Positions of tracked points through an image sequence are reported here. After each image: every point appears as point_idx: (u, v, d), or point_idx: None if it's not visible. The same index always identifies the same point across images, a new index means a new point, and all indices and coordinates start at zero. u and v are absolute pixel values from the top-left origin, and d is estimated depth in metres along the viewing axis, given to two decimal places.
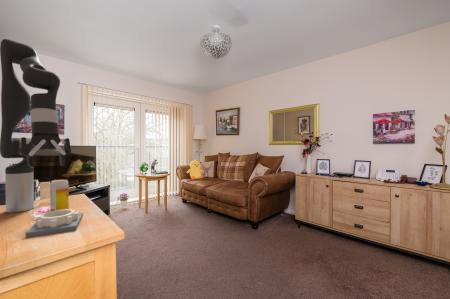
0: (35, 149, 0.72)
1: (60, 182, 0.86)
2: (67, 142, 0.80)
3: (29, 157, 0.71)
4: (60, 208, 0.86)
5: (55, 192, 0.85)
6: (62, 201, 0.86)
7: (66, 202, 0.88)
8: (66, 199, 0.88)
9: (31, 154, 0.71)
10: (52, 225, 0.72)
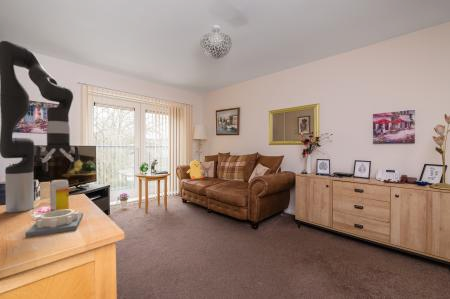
0: (47, 157, 0.84)
1: (60, 182, 0.86)
2: (75, 150, 0.89)
3: (43, 163, 0.84)
4: (60, 208, 0.86)
5: (55, 192, 0.85)
6: (62, 201, 0.86)
7: (66, 202, 0.88)
8: (66, 199, 0.88)
9: (44, 161, 0.84)
10: (52, 225, 0.72)
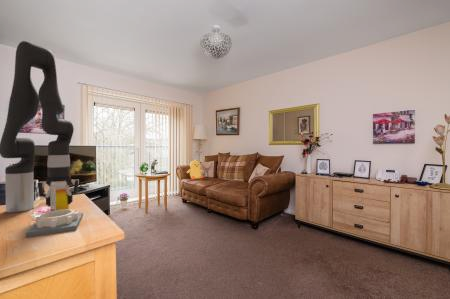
0: (49, 191, 0.85)
1: (60, 182, 0.86)
2: (75, 183, 0.89)
3: (46, 198, 0.85)
4: (60, 208, 0.86)
5: (55, 192, 0.85)
6: (62, 201, 0.86)
7: (66, 202, 0.88)
8: (66, 199, 0.88)
9: (47, 196, 0.85)
10: (52, 225, 0.72)
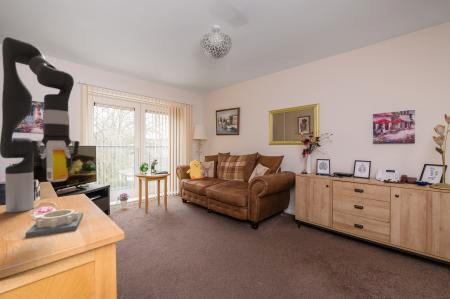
0: (45, 152, 0.74)
1: (58, 141, 0.75)
2: (75, 145, 0.78)
3: (42, 159, 0.74)
4: (58, 171, 0.75)
5: (52, 152, 0.74)
6: (60, 163, 0.75)
7: (65, 165, 0.77)
8: (65, 162, 0.77)
9: (43, 157, 0.74)
10: (52, 225, 0.72)
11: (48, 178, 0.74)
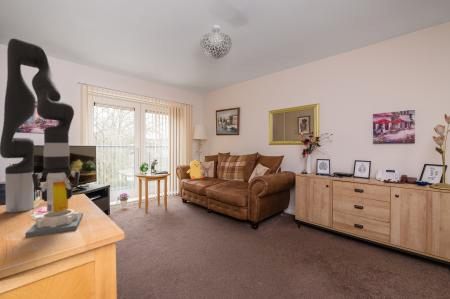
0: (46, 184, 0.74)
1: (58, 174, 0.75)
2: (76, 176, 0.79)
3: (42, 192, 0.74)
4: (58, 203, 0.75)
5: (53, 185, 0.74)
6: (60, 196, 0.75)
7: (65, 197, 0.77)
8: (65, 193, 0.77)
9: (43, 189, 0.74)
10: (52, 225, 0.72)
11: (48, 211, 0.74)
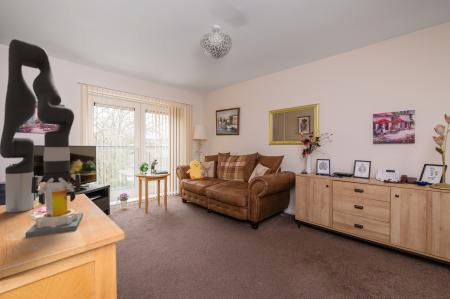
0: (44, 188, 0.74)
1: (57, 183, 0.75)
2: (76, 178, 0.79)
3: (39, 195, 0.74)
4: (57, 213, 0.75)
5: (52, 195, 0.74)
6: (59, 205, 0.75)
7: (64, 206, 0.77)
8: (64, 202, 0.77)
9: (40, 192, 0.74)
10: (52, 225, 0.72)
11: None
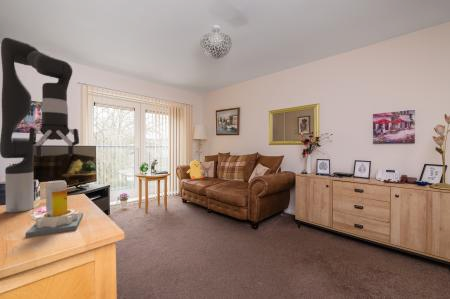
0: (41, 139, 0.74)
1: (57, 183, 0.75)
2: (75, 133, 0.78)
3: (37, 146, 0.74)
4: (57, 213, 0.75)
5: (52, 195, 0.74)
6: (59, 205, 0.75)
7: (64, 206, 0.77)
8: (64, 202, 0.77)
9: (38, 144, 0.73)
10: (52, 225, 0.72)
11: None
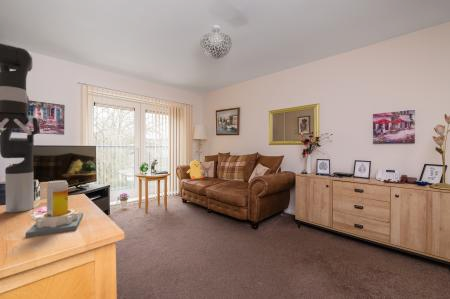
0: None
1: (58, 183, 0.75)
2: (34, 122, 0.78)
3: None
4: (58, 213, 0.75)
5: (53, 195, 0.74)
6: (60, 205, 0.75)
7: (65, 206, 0.77)
8: (65, 203, 0.77)
9: None
10: (52, 225, 0.72)
11: None
